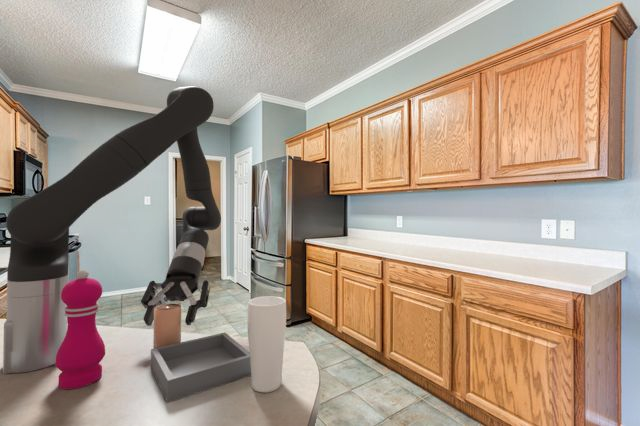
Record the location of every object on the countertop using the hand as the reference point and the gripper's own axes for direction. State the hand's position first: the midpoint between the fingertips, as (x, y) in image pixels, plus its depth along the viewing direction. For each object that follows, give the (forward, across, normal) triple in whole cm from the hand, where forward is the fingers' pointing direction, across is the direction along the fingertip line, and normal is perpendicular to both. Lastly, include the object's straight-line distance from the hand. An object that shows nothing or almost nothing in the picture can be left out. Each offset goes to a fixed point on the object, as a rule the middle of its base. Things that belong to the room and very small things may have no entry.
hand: (167, 323), depth 68 cm
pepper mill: (+12, -11, -3) cm, 17 cm away
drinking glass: (+15, +23, -6) cm, 28 cm away
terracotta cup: (+4, 0, +4) cm, 6 cm away
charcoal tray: (+10, +10, -2) cm, 14 cm away
